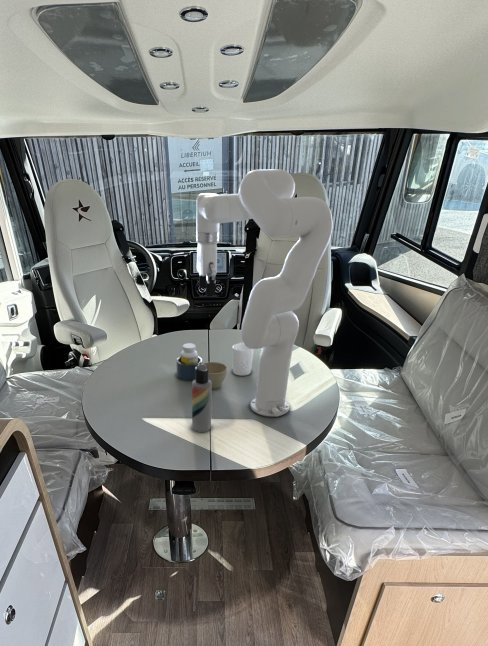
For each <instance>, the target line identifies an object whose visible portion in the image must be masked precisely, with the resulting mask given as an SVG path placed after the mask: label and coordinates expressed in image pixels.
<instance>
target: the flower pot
mask: <svg viewBox="0 0 488 646" xmlns="http://www.w3.org/2000/svg"><path fill="white" fill-rule="evenodd" d="M202 365H207V366H208V367H209V380H210V381H211V382H212V390H216V389H219V388H220V387H221V385H222V384H223V382H224V380H225V378H226V376H227V373H228V366H227V365H226V364H225V363H221V362H219V361H207V362H206V361H205V362H202Z"/></svg>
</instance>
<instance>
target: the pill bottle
mask: <svg viewBox="0 0 488 646" xmlns="http://www.w3.org/2000/svg"><path fill="white" fill-rule="evenodd" d="M196 346H197V345H196V344H195V343H191V342H187V343H184V344H182V351H180V357H181V364H185V365H193V364H197V363H198V357H199V353H198V351H197V350H196V349H197V347H196Z"/></svg>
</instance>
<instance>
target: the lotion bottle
mask: <svg viewBox="0 0 488 646" xmlns="http://www.w3.org/2000/svg"><path fill="white" fill-rule="evenodd" d="M202 364H203V363H202ZM202 364H200V365H197V367H196V368H195V380H192V382H191V427H192V429H193V430H194V431H195V432H197V433H205V432H208V431H209V430H211V428H212V427H211V426H212V394H213V393H212V391H213V389H212V382H211V381H210V380H209V367H208V366H207V365H202Z"/></svg>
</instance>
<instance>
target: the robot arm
mask: <svg viewBox="0 0 488 646" xmlns="http://www.w3.org/2000/svg"><path fill="white" fill-rule="evenodd" d="M238 188H239V189H238V192H237V193H228V194H226V193H225V194H217V193H212V192H205V193H204V192H203V193H199V194H197V197H196V201H195V202H196V232H195V233H196V235H195V237H196V238H195V239H196V243H197V250H196V271H197V273H198V275H199V276H198V288H199V289H205V295H206V296H208V297H210V296H216V288H217V287H216V285H217V283H216V282H217V276H216V275H217V271H218V245H217V244H219V243H220V227H221V226H220V225H221V224H225V223H226V224H227V223H238V222H244V221H247V220H251V219H252V220H253V221H254V222H255V224H256V225H257V226H258V227H259V228H260V230H261V231H262V232H263V233H264V234H265V235H266V236H267V237H269V238H271V239H286V238H295V237H299V238H298V240H297V241H296V242H295V244H294V245H293V246H292V247H291V248H290V250H289V251H288V253H287V255H286V257H285V259H284V263H283V266H282V269H281V271H280V273H279V274H278V275H276V276H271V277H265V278H263V279H260V280H259V281H257V282H256V283H255V284H254V286H253V287H252V289H251V291H250V293H249V297H248V301H247V304H246V307H245V312H244V315H243V318H242V323H241V327H240V336H241V341H242V343H244V344H245V345H246V346H247V347H248V348H251V349H254V350H259V349H261V351H260V354H259V359H258V369H257V370H258V371H257V381H256V393H255V397H254V398H253V399H252V400H251V401H250V409H251V410H252V412H254V413H256V414H258V415H260V416H263V417H269V418H270V417H273V418H274V417H275V418H276V417H281V416H284V415H285V414H287V413H288V412H289V410H290V404H289V402H288V401H287V400H286V397H287V390H288V382H289V376H290V375H289V374H290V369H291V361H292V354H293V349H294V345H295V342H296V339H297V337H298V333H299V329H300V323H299V319H298V316H297V315H296V313H295V312H294V311H296V310H298V309H299V308H301V307H302V306H303V304H304V302H305V300H306V297H307V296H308V292H309V291H310V287H311V286H312V283H313V280H314V277H315V275H316V272H317V269H318V267H319V265H320V262H321V260H322V258H323V256H324V254H325V252H326V250H327V248H328V245H329V244H330V241H331V239H332V238H331V237H332V233H333V226H334V225H333V214H332V211H331V208H330V206H329V204H328V203H327V202H326V201H324V200H323V199H321V198H320V197H314V196H300V197H294V194H295V189H296V182H295V180H294V177H293V176H292V175H291V173H290V172H289V171H287V170H284V169H280V168H278V169H277V168H274V169H273V168H272V169H269V168H268V169H254V170H251V171H249V172H247V173H246V174H245V175H244V176H243V178H242V179H241V181H240V183H239V187H238Z"/></svg>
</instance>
